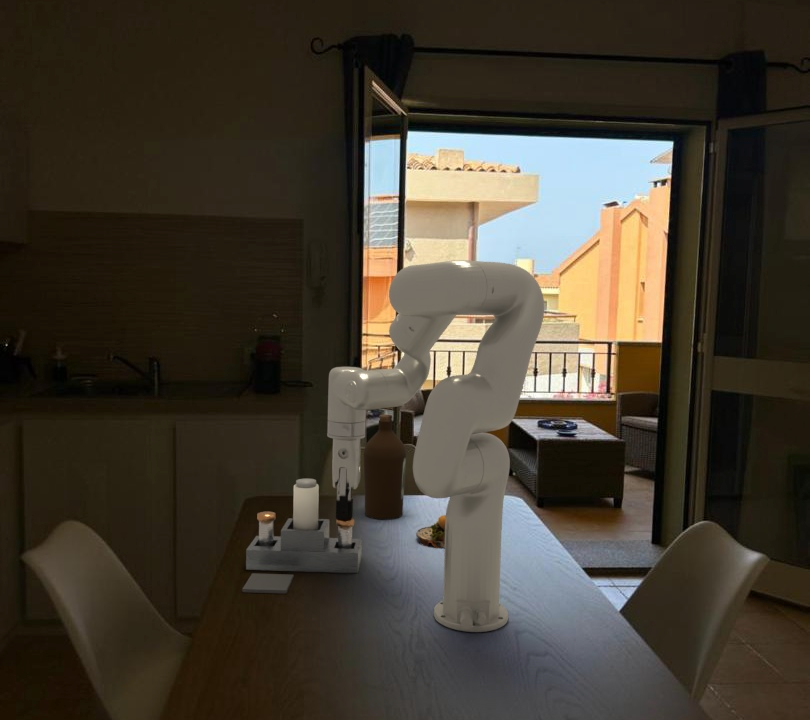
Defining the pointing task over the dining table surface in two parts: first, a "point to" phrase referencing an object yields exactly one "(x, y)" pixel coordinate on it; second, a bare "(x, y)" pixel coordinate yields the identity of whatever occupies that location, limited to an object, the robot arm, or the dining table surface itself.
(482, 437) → the robot arm
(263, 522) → the plunger
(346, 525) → the plunger
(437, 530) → the burger
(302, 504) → the cylinder
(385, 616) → the dining table surface
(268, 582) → the mat
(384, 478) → the olive oil
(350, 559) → the housing
